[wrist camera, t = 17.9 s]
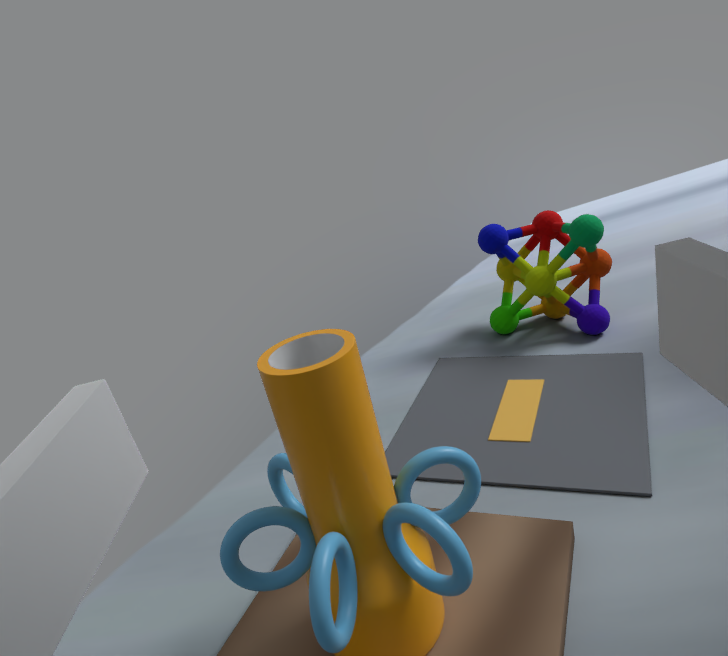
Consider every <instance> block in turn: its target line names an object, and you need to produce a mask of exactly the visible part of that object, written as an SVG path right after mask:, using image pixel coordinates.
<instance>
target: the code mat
mask: <svg viewBox="0 0 728 656" xmlns="http://www.w3.org/2000/svg"><path fill="white" fill-rule="evenodd" d="M439 446H449V447H455V448H458V449H461V450H463V451H465V452H466V453H468V454H469V455H470V456H471V457H472V458H473V459H474V460H475V462H476V463H477V465H478V467H479V470H480V474H481V484H489V485H503V486H517V487H530V488H544V489H558V490H571V491H585V492H598V493H612V494H626V495H639V496H652V490H651V475H650V460H649V445H648V430H647V415H646V400H645V385H644V370H643V355H642V353H614V354H577V355H539V356H502V357H464V358H439V360H438V361H437V363H436V365H435V367H434V368H433V370H432V372H431V374H430V375H429V377H428V379H427V381H426V382H425V384H424V386H423V387H422V389H421V391H420V393H419V394H418V396H417V398H416V400H415V401H414V403H413V405H412V407H411V408H410V410H409V412H408V414H407V415H406V417H405V419H404V420H403V422H402V424H401V426H400V427H399V429H398V431H397V433H396V434H395V436H394V438H393V440H392V441H391V443H390V445H389V447H388V448H387V450H386V452H385V456H386V460H387V464H388V467H389V471H390V475H391V477H394V478H397V476H398V474H399V472H400V471H401V469H402V468H403V467H404V465H405V464H406V463H407V462H408V461H409V460H410V459H411V458H413V457H414V456H415V455H417V454H419V453H420V452H422V451H424V450H427V449H430V448H433V447H439ZM416 479H421V480H435V481H449V482H462V483H464V475H463V472H462V471H461V470H460V469H459V468H458V467H457V466H455V465H452V464H438V465H435V466H432V467H430V468H428V469H426V470H425V471H423V472H422V473H421V474H420V475H419V476H418V477H417V478H416Z"/></svg>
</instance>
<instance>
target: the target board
mask: <svg viewBox="0 0 728 656" xmlns="http://www.w3.org/2000/svg"><path fill="white" fill-rule="evenodd" d="M425 508H426V507H425ZM427 509H429V510H430V511H432V512H433V511H438V510H441V509H436V508H427ZM449 526H450V527H451V528H452V529H453V530H454V531H455V532H456V533H457V535H458V536H459V537H460V539H461V540H462V542H463V543H464V545H465V547H466V549H467V551H468V553H469V556H470V558H471V562H472V567H473V578H472V582H471V584H470V586H469V588H468V589H467V590H466V591H465V592H464V593H462V594H460V595H458V596H443V595H442V597H443V602H444V609H445V617H444V623H443V628H442V630H441V633H440V636H439V638H438V640H437V641H436V643H435V645H434V647H433V648H432V649H431V650H430V652H429V653H428V654H426V656H563V655H564V645H565V634H566V624H567V613H568V603H569V592H570V581H571V571H572V560H573V550H574V539H575V538H574V529H573V522H571V521H561V520H550V519H540V518H530V517H519V516H509V515H498V514H488V513H478V512H467V513H466V514H465V515H464V516H463V517H462V518H461V519H459V520H458V521H456V522H454V523H452V524H450V525H449ZM423 532H424V533H425V535H426V537H427V539H428V541H429V544H430V547H431V551H432V555H433V559H434V564H435V568H436V572H437V573H440V574H443V575H452V573H453V569H452V565H451V562H450V560H449V558H448V556H447V555H446V553H445V551H444V550H443V549H442V547H441V546H440V545H439V544H438V543H437V541H436V540H435V539H434V538H433V537H431V536H430V535H429V534H428V533H427V532H425V531H424V530H423ZM300 547H301V542H300V538H299V536H298V535H296V536H295V538H294V539H293V541H292V542H291V544H290V545H289V547H288V548H287V550H286V551H285V553H284V554H283V556H282V557H281V559H280V560H279V562H278V563H277V565H276V567H275V568H274V570H273V571H272V572H274V571H277V570H280V569H282V568H284V567H286V566H287V565H289V564H290V563H291V562H292V561H293V560H294V559H295V558H296V557H297V555H298V553H299V551H300ZM217 656H335V655H334V654H333V653H329V652H327V651H325V650H324V649H323V648H322V647H321V646H320V644H319V643H318V641H317V639H316V637H315V634H314V631H313V627H312V622H311V617H310V608H309V588H308V585H307V579H306V573H305V574H304V575H303V576H302V577H301V578H299V579H298V580H297V581H295V582H294V583H292V584H290V585H288V586H286V587H283V588H281V589H277V590H273V591H259V592H258V594H257V595H256V597H255V598H254V600H253V601H252V603H251V604H250V606H249V607H248V609H247V610H246V612H245V614H244V615H243V617H242V618H241V620H240V621H239V623H238V624H237V626H236V627H235V629H234V630H233V632H232V633H231V635H230V636H229V638H228V639H227V641H226V642H225V644H224V645H223V647H222V648H221V650H220V651H219V653H218V654H217Z"/></svg>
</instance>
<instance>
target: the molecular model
mask: <svg viewBox="0 0 728 656" xmlns="http://www.w3.org/2000/svg"><path fill="white" fill-rule="evenodd" d="M603 232H604V226H603V224H602V222H601V220H600V219H598V218H597V217H596V216H594V215H589V214H586V215H581V216H579V217H578V218H576V219H575V220H574V221H573V222H572V223H571V224H570V223H563V221H562V219H561V217H560V215H559V214H558V213H556V212H554V211H543V212H541V213H539V214H538V215H537V216H536V217H535V218H534V220H533V222H532V224H531V225H527V226H524V227H519V228H515V229H511V230H507V231H506V230H505V228H504V227H502V226H501V225H498V224H490V225H487V226H485V227H484V228H483V229H482V230H481V231H480V233H479V236H478V244H479V246H480V248H481V249H482V250H483V251H484V252H486V253H488V254H497V256H498V258H499V259H500V260H499V262H498V264H497V274H498V276H499V277H500V278H501V279H502V280H503V281H504V288H503V296H502V304H501V306H500V307H498V308H496V309H495V310H494V311H493V312H492V313H491V316H490V324H491V327H492V328H493V329H494V331H496V332H498V333H500V334H508V333H511V332H513V331H514V330H515V329H516V328H517V326H518V323H519V320H522V319H526V318H529V317H532V316H535V315H539V314H542V313H544V314H545V315H546V316H547V317H550V318H553V319H557V318H561V317H563V316H565V315H566V314H567V315H570V316H572V317H575V318H577V325H578V327H579V328H580V329H581V330H582V331H583V332H584V333H586V334H590V335H597V334H599V333H601V332H603V331H605V330H606V329H607V328H608V326H609V322H610V316H609V313H608V311H607V310H606V309H605V308H604V307H602V306H601V305H599V298H600V278H601V277H603V276H605V275H606V274H607V273H609V271H610V269H611V266H612V259H611V257H610V255H609V254H608V253H607V252H606V251H605V250H603V249H597V246H596V244H597V243H598V242H599V241H600V240H601V238H602V236H603ZM532 234H533V236H532V237H531V238H530V239H529V240H528V242H527V243H526V244H525V245H524V246H523V247H522V248H521V250H520V251H519V252H518V253H516V252H515V251H514V250H513V249H512V248H510V247H509V246H508V245H507V244H508V241H509V240H512V239H516V238H520V237H524V236H528V235H532ZM567 234H569V236H568V235H567ZM554 238H555V239H557V240H558V241H559V242H560V243H562V244H563V245H564V246H565V247H564V248H563V249H562V250H561V251H560V252H559V254H558V255H557V256H556V257H555V258H554V259H553V260H552V261H551V262H550V264H549V265H548V260H549V251H550V242H551V240H552V239H554ZM539 242H540V247H539V255H538V263H537V266H536V267H534V268H533V267H532V266H531V265H530V264H529V263H528V262H526V261H525V260H524V259H525V258H526V257H527V256H528V255H529V253H530V252H531V251H533V249H534V248H535V247H536V246H537V245H538V243H539ZM573 253H574V254H576V255H577V256H578V257H579V258H581V259H580V263H579V264H576V265H573V266H570V267H567V268H564V269H560V270H558V269H559V268H560V267H561V266H562V265H563V264H564V263H565V262H566V261H567V259H568V258H569V257H570V256H571V255H572V254H573ZM575 275H577V276H576V277H575V278H574V279H573V280H572V281H571V282H570V283H569V284H568V285H567V286H566V287H565V289H564V290H563V291H562V290H561V289H560V288H558V287H557V286H556V283H557V281H559V280H562V279H565V278H568V277H572V276H575ZM588 278H590V280H589V302H588V305H586V306H583V305H582V304H580V303H579V302H577V301H576V300H575V299H573V298H572V297H571V295H572V294H573V293H574V292H575V291H576V290H577V289H578V288H579V287H580V286H581V285H582V284H583V283H584V282H585V281H586V280H587V279H588ZM517 280H518V281H519V282H521V283H522V284H523V285H524V286H526V288H527V289H526V290H525V291H524V292H523V293H522V294H521V295H520V296H519V298H518V299H517V300H516V301H515V302H514V303H513V304H512V305H511V301H512V293H513V285H514V281H517ZM534 295H535V296H538V297H539V298H540V299H542V300H541V304H540V305H536V306H533V307H530V308H526V309H523V310H521V309H522V308H523V307H524V306H525V305H526V304H527V302H528V301H529V300H530V299H531V298H532V297H533V296H534Z"/></svg>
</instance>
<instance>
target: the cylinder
mask: <svg viewBox="0 0 728 656" xmlns="http://www.w3.org/2000/svg"><path fill="white" fill-rule="evenodd" d="M257 366H258V370H259V373H260V376H261V378H262V382H263V384H264V387H265V391H266V394H267V397H268V400H269V402H270V406H271V409H272V411H273V414H274V417H275V421H276V423H277V427H278V430H279V433H280V436H281V439H282V442H283V445H284V448H285V451H286V453H280V454H277V455H275V456H274V457H273V458H272V459H271V460H270V462H269V464H268V478H269V482H270V485H271V488H272V490H273V492H274V494H275V496H276V497H277V499H278V501H279V502H280V504H281V505H282V506H283V507H279V506H272V507H264V508H260V509H257V510H254V511H252V512H250V513H248V514H246V515H244V516H243V517H241V518H240V519H238V520H237V521H236V522H235V523H234V524H233V525H232V526H231V527H230V529H229V530H228V531H227V533H226V535H225V537H224V539H223V541H222V545H221V550H220V559H221V564H222V567H223V569H224V571H225V573H226V575H227V576H228V577H229V578H230V579H231V580H232V581H233V582H234V583H236V584H237V585H239V586H241V587H243V588H245V589H248V590H253V591H273V590H277V589H281V588H283V587H286V586H288V585H290V584H292V583H294V582H295V581H297V580H298V579H299V578H301V577H302V576H303V575H304V574H305V573H306V579H307V585H308V588H309V608H310V617H311V622H312V627H313V631H314V634H315V637H316V639H317V641H318V643H319V644H320V646H321V647H322V648H323V649H324V650H325V651H327V652H329V653H333V654H334V655H335V656H426V654H428V653H429V652H430V650H431V649H432V648H433V647H434V645H435V643H436V641H437V640H438V638H439V636H440V633H441V630H442V628H443V623H444V617H445V609H444V602H443V597H442V595H443V596H458V595H460V594H462V593H464V592H465V591H466V590H467V589H468V588H469V586H470V584H471V582H472V578H473V567H472V562H471V558H470V556H469V553H468V551H467V549H466V547H465V545H464V543H463V542H462V540H461V539H460V537H459V536H458V535H457V533H456V532H455V531H454V530H453V529H452V528H451V527H450V526H449V525H450V524H452V523H454V522H456V521H458V520H459V519H461V518H462V517H463V516H464V515H465V514H466V513H467V512H468V511H469V510H470V509H471V508H472V506H473V505H474V503H475V502H476V500H477V498H478V495H479V492H480V488H481V474H480V470H479V467H478V465H477V463H476V462H475V460H474V459H473V458H472V457H471V456H470V455H469V454H468V453H466V452H465V451H463V450H461V449H458V448H455V447H449V446H439V447H433V448H430V449H427V450H424V451H422V452H420V453H419V454H417V455H415V456H414V457H413V458H411V459H410V460H409V461H408V462H407V463H406V464H405V465H404V467H403V468H402V469H401V471H400V472H399V474H398V476H397V479H396V481H395V485H394V486H393V482H392V479H391V475H390V471H389V467H388V464H387V460H386V456H385V452H384V448H383V444H382V440H381V437H380V433H379V429H378V425H377V421H376V417H375V413H374V409H373V406H372V402H371V398H370V394H369V390H368V386H367V382H366V378H365V374H364V371H363V367H362V363H361V359H360V355H359V351H358V347H357V344H356V340H355V337H354V335H353V334H352V333H350V332H348V331H346V330H341V329H323V330H317V331H311V332H307V333H303V334H300V335H297V336H293V337H291V338H288V339H286V340H284V341H281V342H279V343H278V344H276V345H274V346H272V347H271V348H269V349H268V350H267V351H266V352H264V353H263V354H262V355H261V357H260V358H259V360H258V362H257ZM438 464H452V465H455V466H457V467H458V468H459V469H460V470H461V471H462V472H463V475H464V487H463V490H462V492H461V494H460V495H459V497H458V498H457V499H456V500H455V501H454V502H453V503H452V504H451V505H449V506H448V507H446V508H444V509H441V510H438V511H433V512H432V511H430V510H429V509H427V508H425V507H423V506H420V505H417V504H414V503H412V501H411V498H410V492H411V488H412V485H413V483H414V481H415V480H416V478H417V477H418V476H419V475H420V474H421V473H422V472H423V471H425V470H426V469H428V468H430V467H432V466H435V465H438ZM283 469H285V470H287V471H289V472H290V473H292V474H293V475H294V478H295V481H296V484H297V487H298V490H299V493H300V496H301V499H302V502H303V505H304V506H303V505H302V504H301V503H299V501H298V500H297V499H296V498H295V497H294V496H293V494H292V493H291V491H290V490H289V488H288V486H287V484H286V482H285V479H284V476H283ZM270 525H280V526H285V527H288V528H290V529H292V530H293V531H294V532H296V534H297V535H298V536H299V538H300V542H301V547H300V551H299V553H298V555H297V557H296V558H295V559H294V560H293V561H292V562H291V563H290V564H289V565H287V566H286V567H284V568H282V569H280V570H277V571H274V572H267V573H262V572H255V571H252V570H250V569H248V568H246V567H245V566H244V565H243V564H242V563H241V561H240V559H239V547H240V545H241V543H242V541H243V540H244V539H245V538H246V537H247V536H248V535H249V534H250V533H251V532H253V531H255V530H257V529H259V528H261V527H265V526H270ZM423 530H424V531H425V532H427V533H428V534H429V535H430V536H431V537H433V538H434V539H435V540H436V541H437V543H438V544H439V545H440V546H441V547H442V549H443V550H444V551H445V553H446V555H447V556H448V558H449V560H450V562H451V565H452V569H453V573H452V575H443V574H440V573H437V572H436V568H435V564H434V559H433V555H432V551H431V547H430V544H429V541H428V539H427V537H426V535H425V533H424V532H423Z"/></svg>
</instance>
